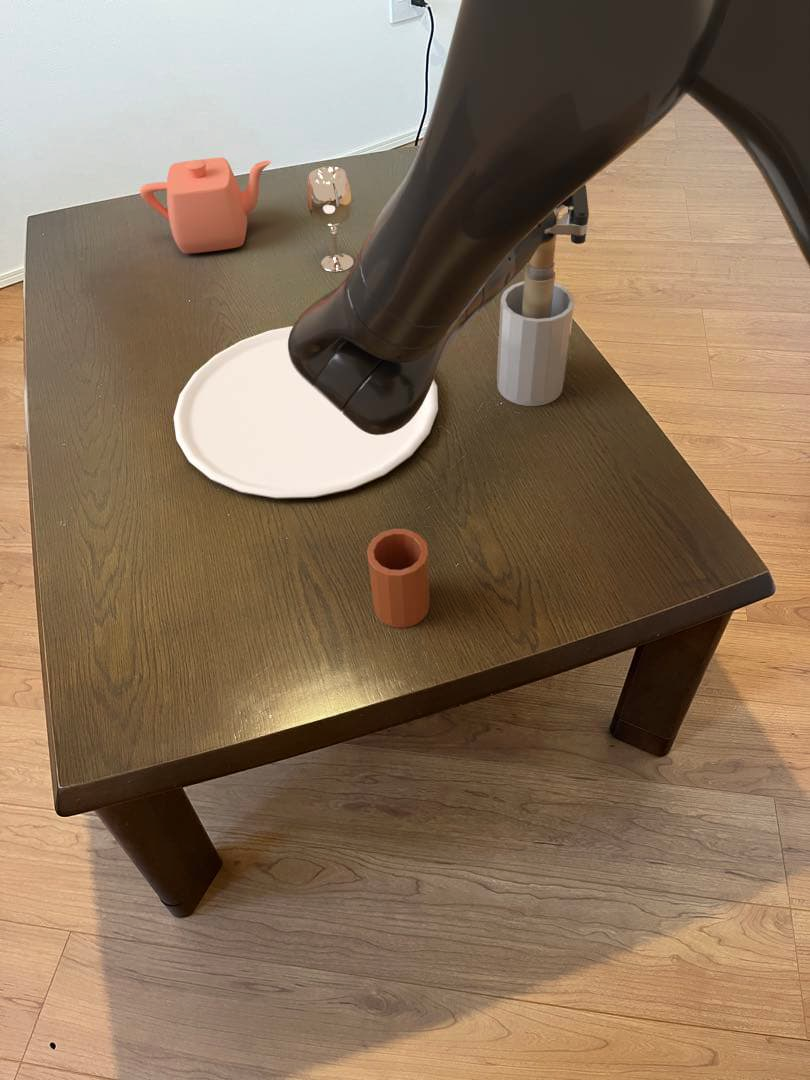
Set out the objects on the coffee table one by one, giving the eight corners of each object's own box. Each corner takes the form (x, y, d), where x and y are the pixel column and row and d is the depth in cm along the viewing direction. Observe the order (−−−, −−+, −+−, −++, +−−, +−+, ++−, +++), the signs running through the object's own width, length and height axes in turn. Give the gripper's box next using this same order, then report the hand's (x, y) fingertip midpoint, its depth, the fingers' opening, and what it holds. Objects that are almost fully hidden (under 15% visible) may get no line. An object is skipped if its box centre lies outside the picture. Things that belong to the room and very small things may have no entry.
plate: (493, 419, 90) (493, 410, 89) (262, 550, 79) (260, 541, 78) (341, 302, 106) (340, 293, 105) (131, 398, 95) (127, 389, 94)
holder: (436, 588, 75) (434, 534, 70) (420, 634, 72) (417, 581, 66) (383, 577, 76) (378, 523, 71) (366, 621, 73) (358, 568, 68)
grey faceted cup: (568, 369, 95) (579, 284, 87) (556, 411, 90) (567, 325, 82) (504, 360, 97) (509, 276, 88) (490, 400, 92) (494, 315, 84)
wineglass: (308, 270, 111) (296, 182, 102) (327, 248, 114) (316, 161, 105) (347, 277, 109) (338, 189, 100) (365, 255, 113) (358, 167, 103)
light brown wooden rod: (556, 317, 86) (580, 115, 71) (535, 328, 85) (554, 125, 70) (536, 304, 88) (555, 104, 73) (515, 315, 87) (529, 114, 71)
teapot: (155, 223, 121) (135, 151, 113) (279, 207, 122) (267, 135, 114) (153, 265, 113) (131, 191, 105) (285, 248, 115) (272, 174, 107)
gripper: (554, 232, 62) (641, 140, 72) (398, 191, 68) (497, 110, 77) (545, 317, 68) (627, 222, 77) (402, 273, 73) (494, 188, 83)
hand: (562, 166), depth 77 cm, fingers closed on light brown wooden rod, 2 cm apart
